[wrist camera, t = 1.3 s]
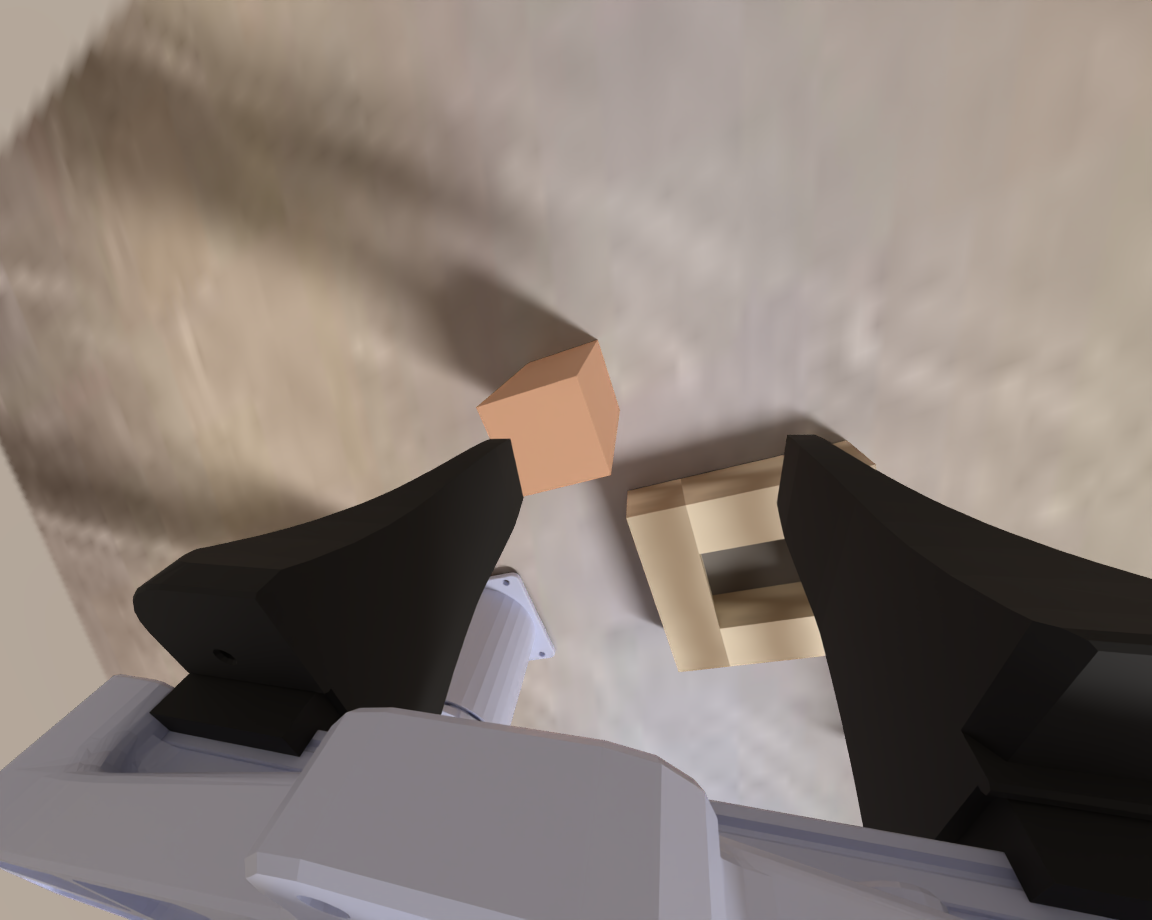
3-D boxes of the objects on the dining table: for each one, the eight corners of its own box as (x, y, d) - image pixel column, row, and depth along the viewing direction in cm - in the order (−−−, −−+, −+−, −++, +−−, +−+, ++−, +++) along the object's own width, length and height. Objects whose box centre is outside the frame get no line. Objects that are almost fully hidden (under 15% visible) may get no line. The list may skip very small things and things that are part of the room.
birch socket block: (675, 634, 29) (678, 672, 27) (627, 491, 25) (626, 518, 22) (864, 609, 26) (889, 648, 23) (846, 440, 22) (875, 464, 19)
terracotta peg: (553, 429, 24) (516, 498, 17) (528, 363, 23) (476, 407, 15) (619, 410, 23) (610, 475, 16) (597, 339, 22) (576, 375, 14)
